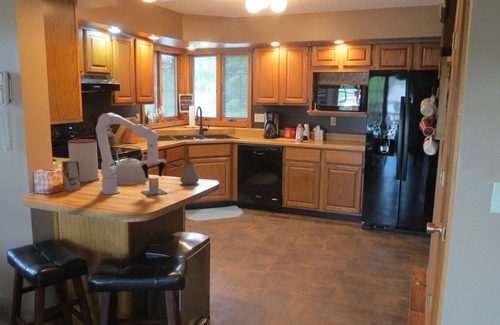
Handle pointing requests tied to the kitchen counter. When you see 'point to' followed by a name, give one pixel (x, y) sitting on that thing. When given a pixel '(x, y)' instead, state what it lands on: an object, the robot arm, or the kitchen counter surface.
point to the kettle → (130, 170)
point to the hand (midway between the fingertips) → (153, 177)
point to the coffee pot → (188, 173)
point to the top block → (153, 181)
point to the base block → (153, 188)
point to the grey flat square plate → (153, 193)
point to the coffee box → (71, 175)
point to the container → (85, 158)
